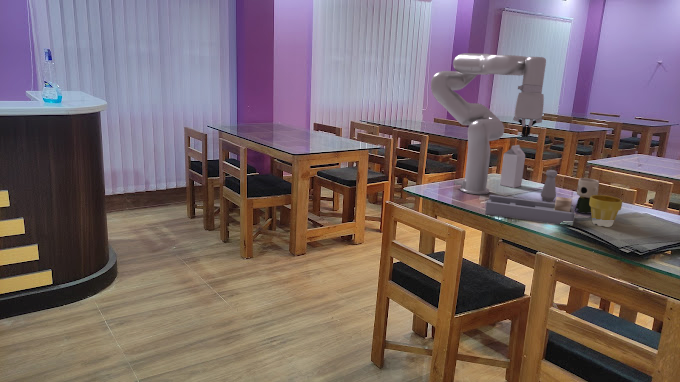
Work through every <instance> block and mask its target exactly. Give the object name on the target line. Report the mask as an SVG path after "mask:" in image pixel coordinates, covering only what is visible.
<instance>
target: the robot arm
mask: <svg viewBox="0 0 680 382" xmlns="http://www.w3.org/2000/svg"><path fill="white" fill-rule="evenodd" d="M452 61H453V62H452V66H453V68H454V69H453V70H452V71H451V70H442V71H438V72H437V73H435V74H433V76H432V78H431V81H430V90H431V93H432V95H433V97H434V99H435V100H436V101H437V102H438V103H439V104H440V105H441V106H442V107H443V108H444V109H445V110H446V111H447V112H448V113H449V114H450V115H451V116H452V117H453V118H454V119H455V121H457V122H458V123H459V124H461V125H462V126H468V128H467V153H466V155H467V156H466V165H465V173H464V175H465V176H464V179H461V180H459V179H454V182H453V184H454V185H456V186H460V187H459V191H461V192H464V193H465V194H471V195H488V194H490V191H491V190H490V189H489V188H487V184H488V176H489V169H490V168H489V167H490V166H489V165H490V160H491V146H490V141H497V140H499V139H500V138H502V137H503V135H504V133H505V126H504V123H503V122H502V121H501V119H500V118H499V117H498V116H496V115H495V113H493V112H492V111H491V110H490V109H489V108H488V107H487V106H485V105H484V104H481V103H478V102H476V103H474V102H473V103H472V102H471V103H470V102H468V101H466V99H464V98H463V97H462V95H461V94H459V93H457V92H456V91H460V90H462V89H464V88H465V87H466V86H468V85H469V84H470V82H472V81H473V80H474V79H475V78H476V77H477V76H478V75H483V76H484V75H485V76H487V75H499V76H518V77H519V76H522V82H521V83H522V84H521V85H517V90H520V92H518V95H517V99H516V105H515V107H514V117H513V120H512V121H514V122H517V123H519V124H520V125H521V126H522V131H521V135H522V137H523V138H528V136H530V134H531V128H532V126H534V125H536V124H542V123H543V114H544V113H543V112H544V103H545V102H544V101H545V100H544V99H545V97H544V93H543V87H544V86H543V85H544V78H545V72H546V65H547V60H546V57H543V56H523V55H512V54H510V55H509V54H490V53H470V52H469V53H465V52H464V53H460V54H458V55H456V56H455V58H454V59H453V60H452ZM526 120H529V123H528V124H526Z"/></svg>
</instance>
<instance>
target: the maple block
mask: <svg viewBox="0 0 680 382" xmlns="http://www.w3.org/2000/svg"><path fill="white" fill-rule="evenodd" d="M554 203H555V209H554V210H557V211H565V212H570V208H571V205H572V198H569V197H562V196H556V197H555V202H554Z"/></svg>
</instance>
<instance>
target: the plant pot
mask: <svg viewBox="0 0 680 382" xmlns="http://www.w3.org/2000/svg"><path fill="white" fill-rule="evenodd" d="M589 205H590V206H591V215H590V216H591V219H592V218H596V219H602V220H616V218H617V215H618V213H619V211H621V210H622V207H623V200H622V199H621V198H619V197H616V196H612V195H611V196H610V195H606V194H605V195H604V194H598V195H592V196H590V202H589Z"/></svg>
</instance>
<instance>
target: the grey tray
mask: <svg viewBox="0 0 680 382" xmlns="http://www.w3.org/2000/svg"><path fill="white" fill-rule="evenodd" d="M555 203H556V202H546V201H543V200H534V199H526V198H519V197H513V196H504V195H503V196H502V195H497V194H489V196H488V201H486V205H485V212H484V214H485V215H490V216H495V217H496V216H497V217H503V218H505V217H506V218H510V219H511V218H512V219H518V220H526V221H531V222H537V223H538V222H539V223H545V224H546V223H547V224H552V225H559V224H560V223H561V222H563V221H574V222H575V208H574V206H573V205H572V204H571V208H570V212H565V211H557V210H554V209H555Z"/></svg>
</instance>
